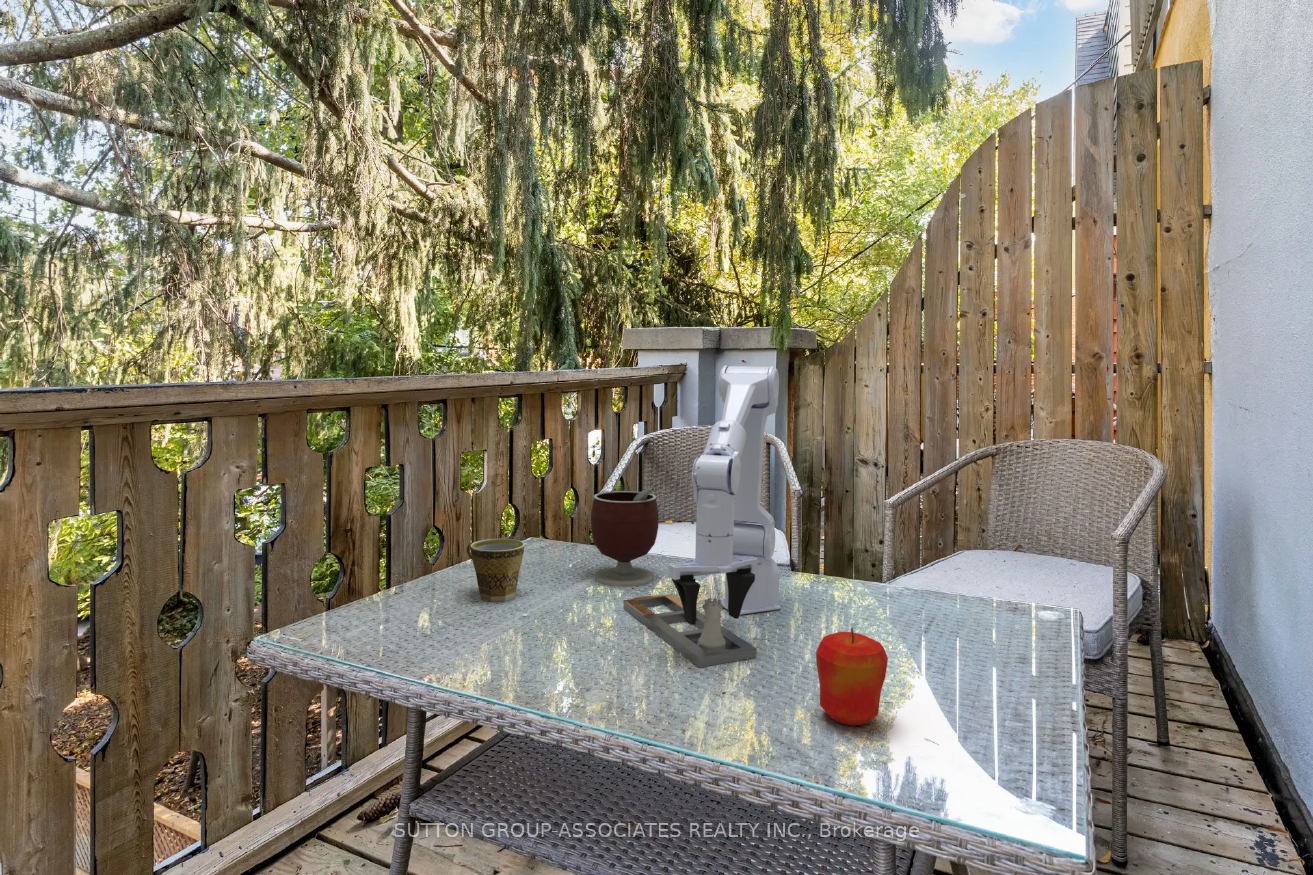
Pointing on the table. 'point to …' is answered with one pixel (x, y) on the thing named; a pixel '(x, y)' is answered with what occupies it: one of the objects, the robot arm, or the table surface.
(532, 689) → the table surface
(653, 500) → the mate gourd
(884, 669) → the apple
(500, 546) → the ceramic cup
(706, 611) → the rook chess piece
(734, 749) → the table surface
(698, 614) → the hole rail
